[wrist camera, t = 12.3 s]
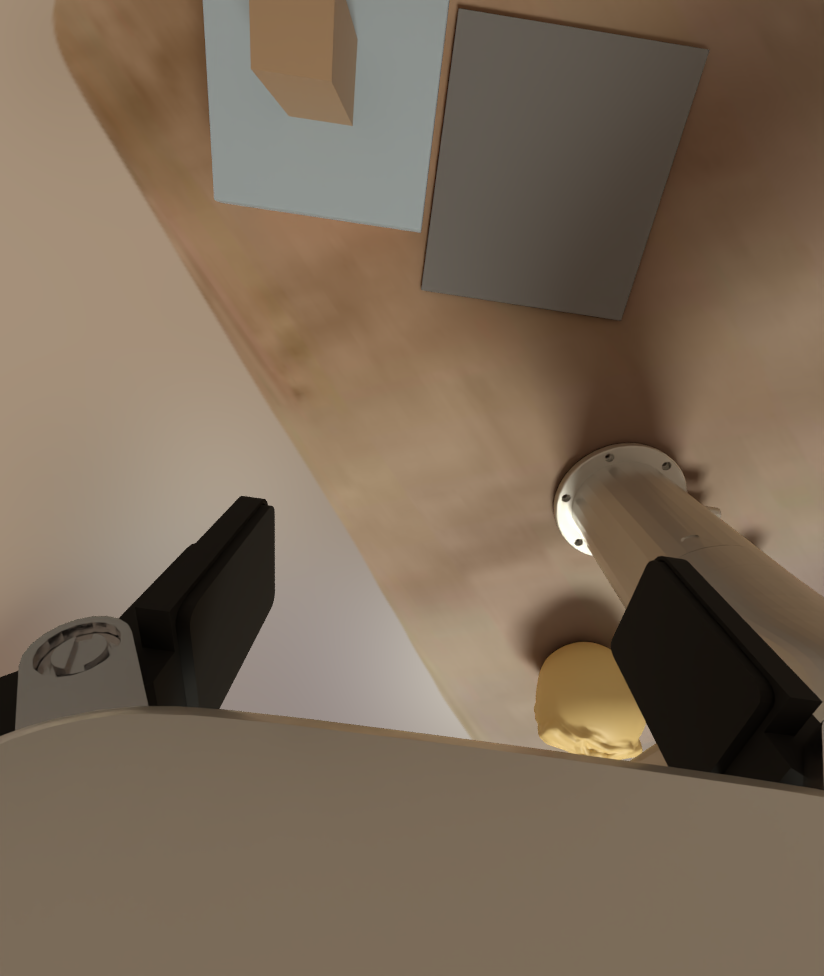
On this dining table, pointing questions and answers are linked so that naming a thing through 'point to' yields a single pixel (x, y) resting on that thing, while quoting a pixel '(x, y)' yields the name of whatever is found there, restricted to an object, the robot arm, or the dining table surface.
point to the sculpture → (587, 704)
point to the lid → (324, 105)
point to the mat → (553, 161)
